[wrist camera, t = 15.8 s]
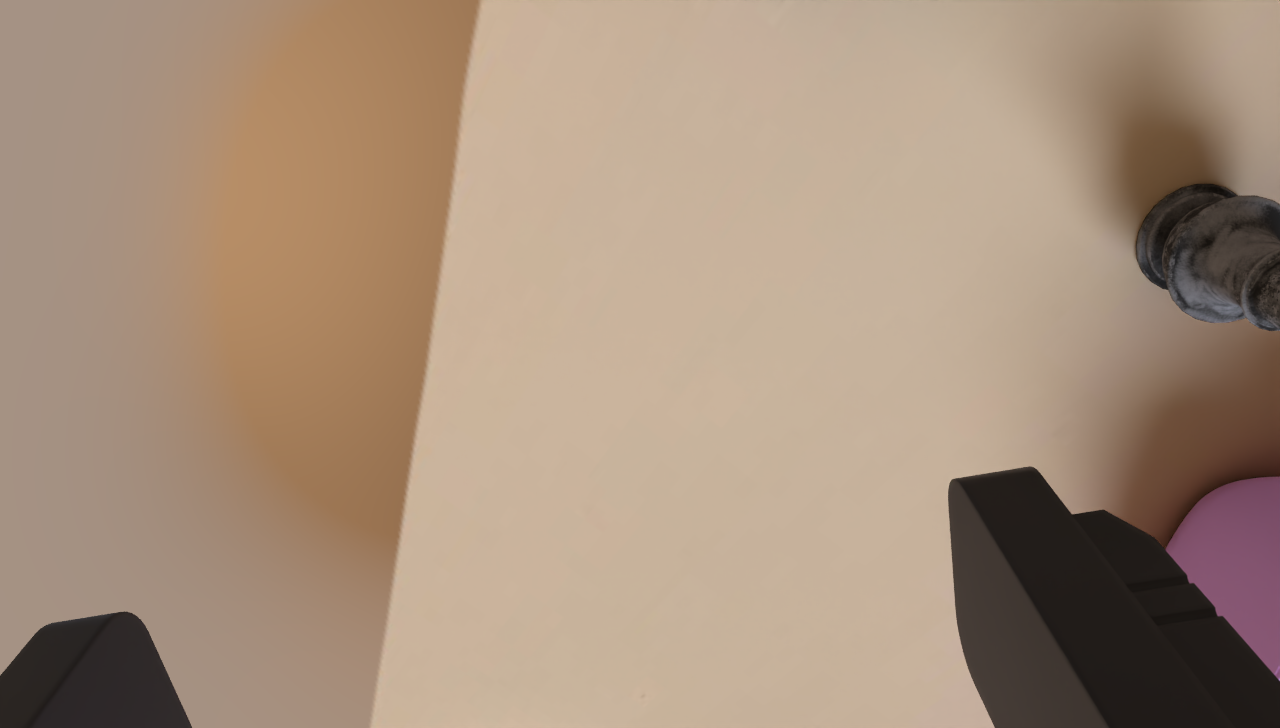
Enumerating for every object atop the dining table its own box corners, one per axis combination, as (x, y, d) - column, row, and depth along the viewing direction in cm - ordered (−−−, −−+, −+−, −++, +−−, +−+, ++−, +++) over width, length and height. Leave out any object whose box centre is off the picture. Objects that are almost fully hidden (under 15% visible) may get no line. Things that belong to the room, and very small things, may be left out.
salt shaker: (1114, 290, 49) (1255, 394, 38) (1152, 170, 47) (1315, 244, 36) (1229, 303, 50) (1404, 410, 38) (1273, 185, 47) (1472, 263, 36)
